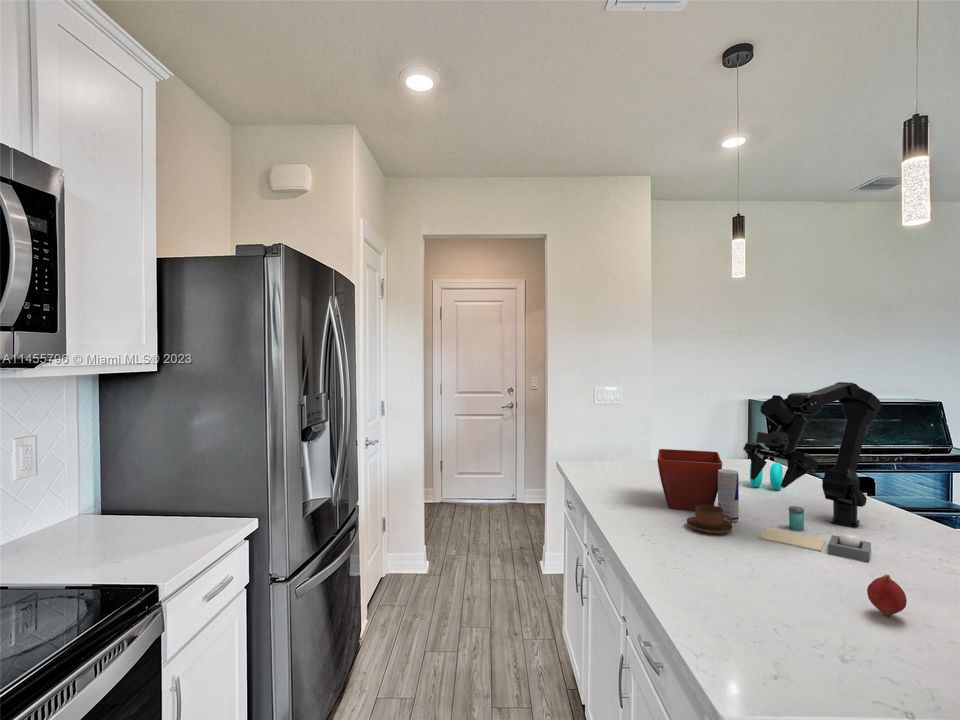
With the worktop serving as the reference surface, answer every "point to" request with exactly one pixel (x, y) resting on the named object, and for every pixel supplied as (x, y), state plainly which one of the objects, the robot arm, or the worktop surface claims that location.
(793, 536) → the paper pad
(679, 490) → the plant pot
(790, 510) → the teal grey-topped cylinder
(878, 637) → the worktop surface
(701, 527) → the cup and saucer
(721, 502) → the beverage can
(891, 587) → the onion
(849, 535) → the button
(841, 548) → the button housing
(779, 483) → the donuts
